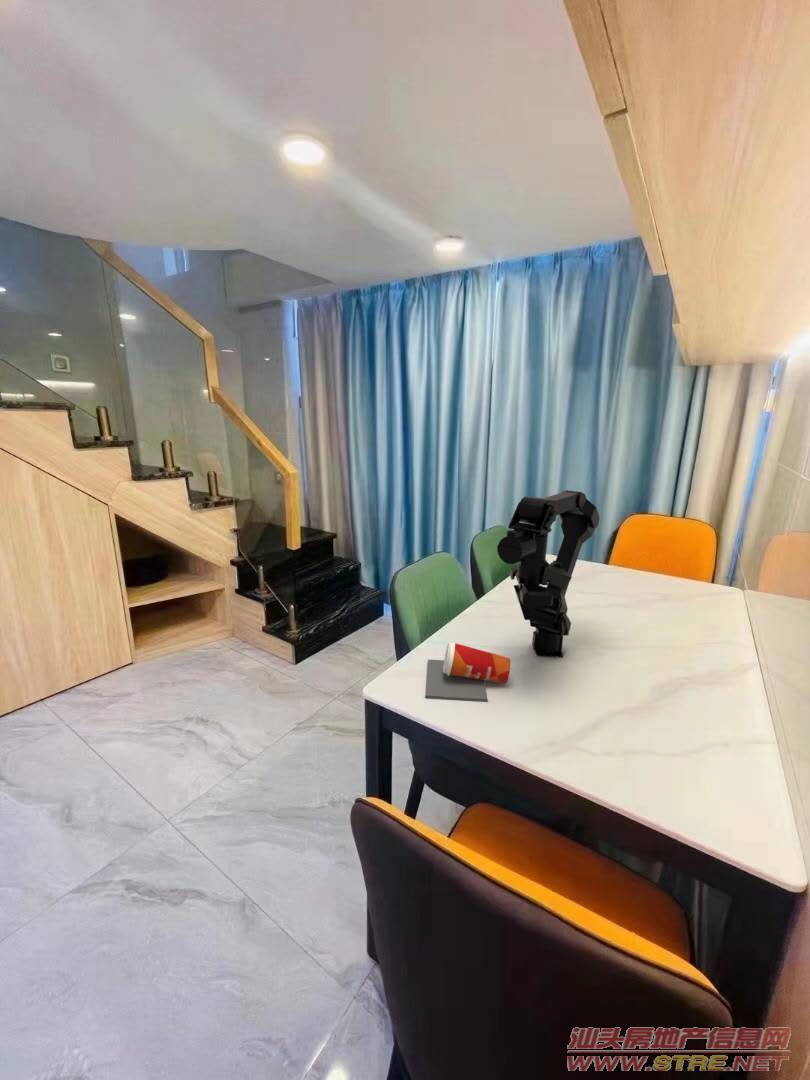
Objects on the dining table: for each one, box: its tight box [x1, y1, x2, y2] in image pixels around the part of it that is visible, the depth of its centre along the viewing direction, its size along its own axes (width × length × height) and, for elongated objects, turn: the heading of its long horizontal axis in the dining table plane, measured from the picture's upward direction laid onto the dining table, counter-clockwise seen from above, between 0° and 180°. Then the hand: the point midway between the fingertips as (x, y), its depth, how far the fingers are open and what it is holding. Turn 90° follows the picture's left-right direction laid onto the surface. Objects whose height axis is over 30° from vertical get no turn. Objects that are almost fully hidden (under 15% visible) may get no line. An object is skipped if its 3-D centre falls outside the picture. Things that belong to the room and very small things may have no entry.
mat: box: [425, 659, 488, 703], centre depth 100 cm, size 13×15×1 cm
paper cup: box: [443, 641, 511, 684], centre depth 99 cm, size 8×8×14 cm
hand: (526, 619), depth 101 cm, fingers closed
